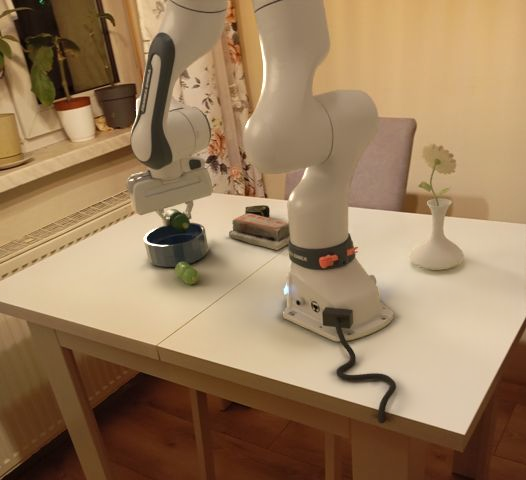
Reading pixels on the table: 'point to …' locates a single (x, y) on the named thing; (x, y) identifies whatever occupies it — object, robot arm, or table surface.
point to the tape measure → (258, 210)
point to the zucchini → (178, 220)
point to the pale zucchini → (186, 273)
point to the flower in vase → (437, 217)
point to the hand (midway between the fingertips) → (177, 222)
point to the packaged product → (261, 231)
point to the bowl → (176, 245)
